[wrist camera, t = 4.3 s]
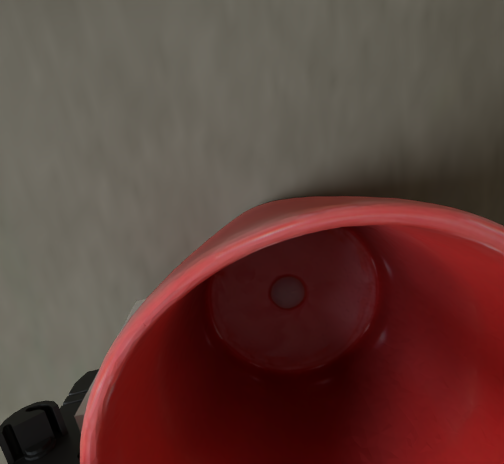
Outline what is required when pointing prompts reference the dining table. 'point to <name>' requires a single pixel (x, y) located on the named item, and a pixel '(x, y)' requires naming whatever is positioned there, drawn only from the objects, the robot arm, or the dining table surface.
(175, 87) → the dining table surface
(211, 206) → the dining table surface
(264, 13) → the dining table surface
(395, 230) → the flower pot
